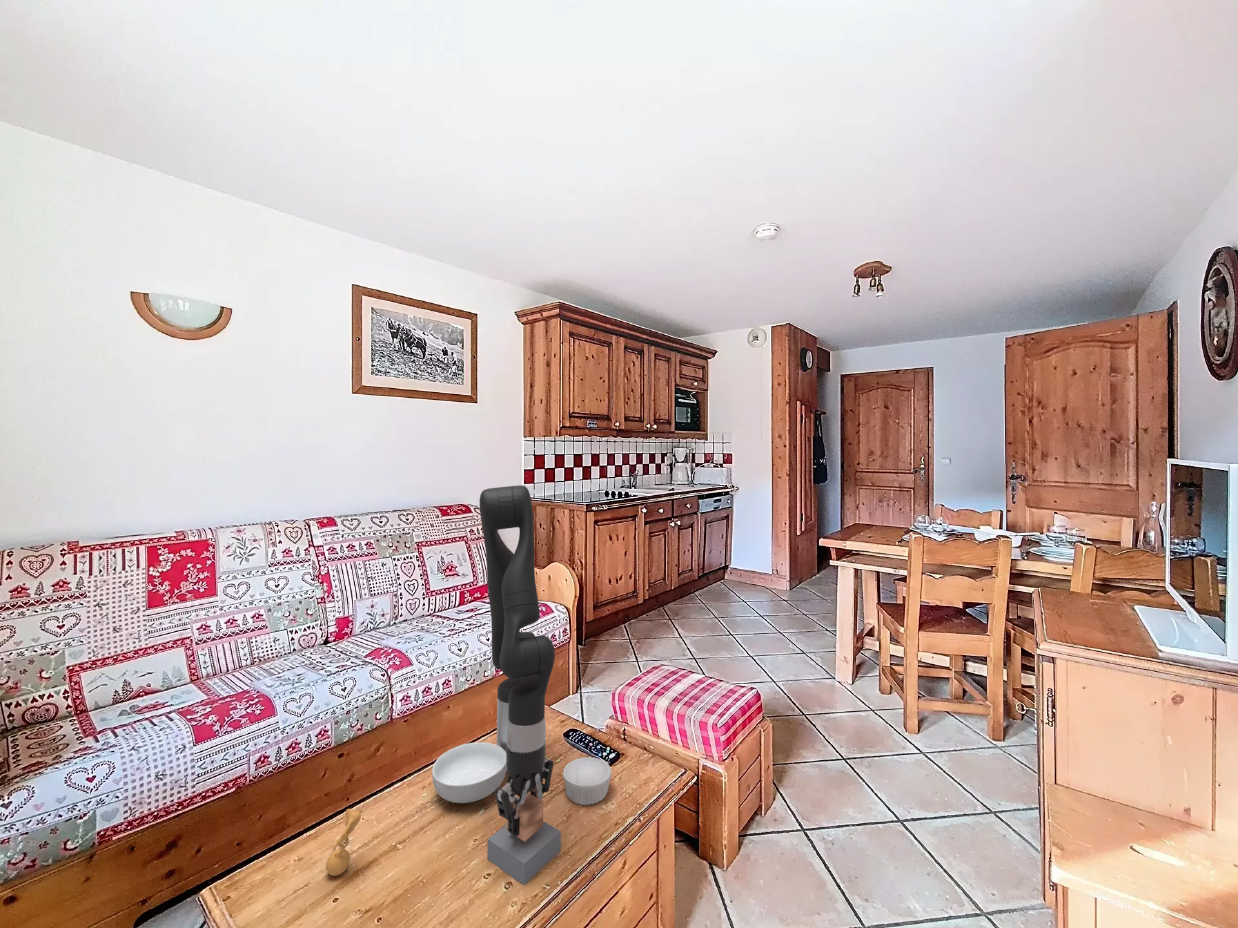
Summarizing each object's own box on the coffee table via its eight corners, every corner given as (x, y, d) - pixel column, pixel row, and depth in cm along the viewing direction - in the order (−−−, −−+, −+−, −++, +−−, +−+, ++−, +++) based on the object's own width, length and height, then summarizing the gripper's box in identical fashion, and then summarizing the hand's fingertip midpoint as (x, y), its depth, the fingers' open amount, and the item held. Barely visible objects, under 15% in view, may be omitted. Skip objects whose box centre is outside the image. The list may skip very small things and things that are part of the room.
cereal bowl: (475, 761, 130) (475, 733, 130) (522, 785, 121) (522, 756, 121) (416, 797, 116) (416, 766, 116) (463, 827, 107) (464, 794, 107)
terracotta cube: (525, 815, 103) (525, 791, 103) (543, 826, 100) (543, 801, 100) (506, 829, 99) (506, 804, 99) (524, 841, 96) (525, 815, 96)
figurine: (339, 854, 99) (340, 793, 99) (370, 855, 99) (371, 794, 99) (314, 891, 91) (314, 824, 91) (347, 891, 91) (348, 825, 91)
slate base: (524, 829, 107) (525, 810, 107) (560, 850, 101) (560, 831, 101) (487, 859, 99) (487, 838, 99) (523, 884, 93) (524, 863, 93)
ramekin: (554, 788, 120) (554, 766, 120) (593, 772, 127) (593, 751, 127) (579, 816, 111) (579, 792, 111) (620, 796, 118) (620, 774, 118)
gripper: (538, 718, 108) (536, 798, 108) (484, 749, 96) (483, 839, 96) (564, 730, 103) (563, 813, 104) (512, 764, 92) (510, 857, 92)
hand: (524, 825), depth 100 cm, fingers closed on terracotta cube, 5 cm apart
